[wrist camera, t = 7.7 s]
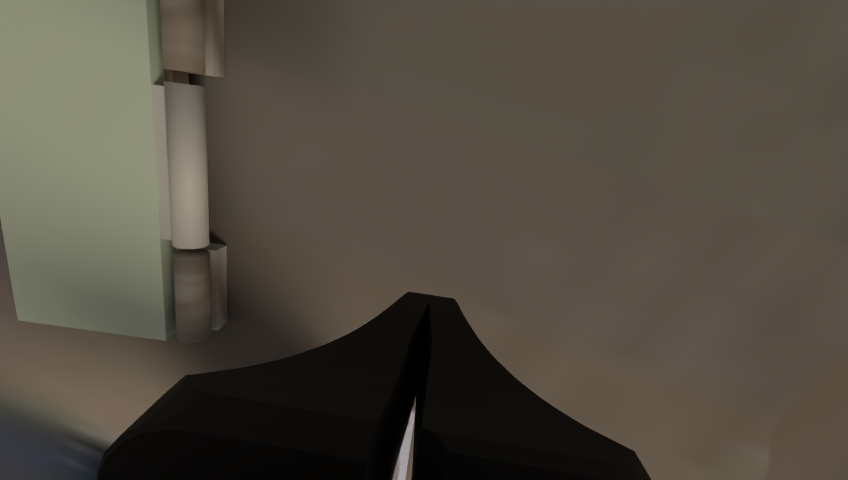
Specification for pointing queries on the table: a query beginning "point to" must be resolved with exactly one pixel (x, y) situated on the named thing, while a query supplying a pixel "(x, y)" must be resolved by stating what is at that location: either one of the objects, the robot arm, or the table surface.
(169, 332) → the hinge leaf
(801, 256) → the table surface
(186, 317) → the base leaf
